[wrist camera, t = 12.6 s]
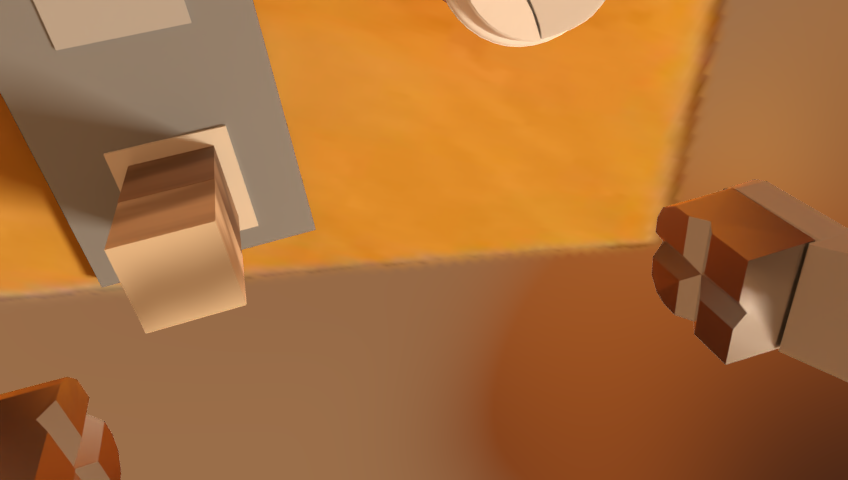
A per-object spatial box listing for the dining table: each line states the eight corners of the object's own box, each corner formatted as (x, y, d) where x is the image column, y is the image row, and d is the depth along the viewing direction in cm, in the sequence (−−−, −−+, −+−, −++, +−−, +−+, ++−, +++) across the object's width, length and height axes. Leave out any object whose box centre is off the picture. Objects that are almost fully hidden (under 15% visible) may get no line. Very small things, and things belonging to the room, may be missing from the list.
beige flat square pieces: (-92, -101, 29) (-102, -100, 28) (211, -148, 31) (211, -149, 30) (104, 279, 40) (101, 289, 39) (313, 223, 43) (316, 231, 42)
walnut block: (128, 166, 36) (117, 202, 32) (213, 145, 37) (214, 178, 33) (159, 237, 39) (153, 279, 35) (238, 216, 40) (241, 255, 36)
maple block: (117, 202, 32) (104, 249, 28) (214, 178, 33) (215, 221, 29) (153, 279, 35) (145, 333, 31) (242, 255, 36) (246, 304, 31)
